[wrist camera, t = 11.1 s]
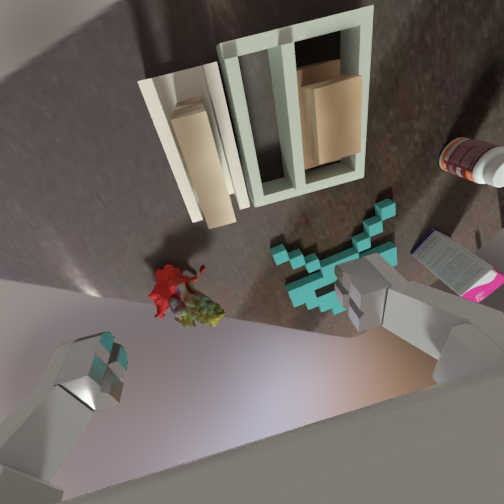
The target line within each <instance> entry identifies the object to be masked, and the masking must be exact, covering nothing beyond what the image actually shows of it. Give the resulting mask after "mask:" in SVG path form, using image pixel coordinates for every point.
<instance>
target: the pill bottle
mask: <svg viewBox="0 0 504 504" xmlns="http://www.w3.org/2000/svg"><path fill="white" fill-rule="evenodd" d="M439 165H440V167H441V168H442V169H443V170H445V171H448V172H450V173H453V174H455V175H458V176H460V177H463V178H465V179H468V180H470V181H473V182H475V183H478V184H486V183H487V184H489V185H492V186H494V187H504V147H502V146H498V145H494V144H489V143H486V142H482V141H478V140H474V139H470V138H465V137H460V138H457V139H455V140H453V141H451V142H450V143H449V144H448V145H447V146H446V147H445V148H444V150H443V151H442V153H441V155H440V159H439Z"/></svg>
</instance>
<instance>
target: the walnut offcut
mask: <svg viewBox="0 0 504 504" xmlns="http://www.w3.org/2000/svg"><path fill="white" fill-rule="evenodd" d="M296 72H297V84H298V97H299V109H300V121H301V133H302V146H303V158H304V170H305V169H309V168H312V167H316V166H319V165H323V164H327V163H330V162H334V161H337V160H341V158H339V159H336V160H333V161H329V162H326V163H323V164H318V163H317V162H316V161H314V160H313V159H312V158H310V157H309V156H308V153H307V143H306V134H305V124H304V114H303V104H302V94H301V87H303V86H307V85H310V84H313V83H317V82H320V81H323V80H327V79H330V78H334V77H337V76H340V59H337V60H324V61H320V62H316V63H313V64H309V65H305V66H301V67H298V68H296Z"/></svg>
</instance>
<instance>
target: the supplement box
mask: <svg viewBox="0 0 504 504" xmlns="http://www.w3.org/2000/svg"><path fill="white" fill-rule="evenodd" d="M411 254H412V255H413V256H414V257H415V258H416V259H417V260H419V261H420V262H421V263H422V264H423V265H424V266H425V267H427V268H428V269H429V270H430V271H431V272H432V273H434V274H435V275H436V276H437V277H438V278H439V279H441V280H442V281H443V282H444V283H445V284H446V285H447V286H449V287H450V288H451V289H452V290H453V291H455V292H456V293H457V294H458V295H459V296H461V297H464V298H467V299H469V300H472V301H475V302H477V303H479V302H480V301H482V300H483V299H484V298H485V297H487V296H488V295H489V294H490V293H491V292H492V291H494V290H495V289H496V288H498V287H499V286H500V285H501V284H503V283H504V274H503V273H501V272H499V271H498V270H497V269H495V268H493V267H492V266H491V265H489V264H488V263H486V262H485V261H483V260H482V259H481V258H479V257H478V256H476V255H475V254H473V253H472V252H470V251H469V250H467V249H466V248H464V247H463V246H462V245H460V244H459V243H457V242H456V241H454V240H453V239H451V238H450V237H448V236H447V235H445V234H443V233H441V232H439V231H437V230H435V229H432V230H431V231H430V232H429V233H428V234H427V235H426V236H425V237H424V239H423V240H422V241H421V242H420V243H419V244H418V245H417V246H416V247H415V248H414V249H413V250H412V252H411Z"/></svg>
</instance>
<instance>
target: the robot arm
mask: <svg viewBox="0 0 504 504" xmlns="http://www.w3.org/2000/svg"><path fill="white" fill-rule="evenodd" d="M334 274H335V275H336V277H337V280H336V281H335V292H336V295H337V298H338V300H339V302H340V304H341V305H342V307H343V308H345V309H347V310H349V318H350V319H351V321H352V322H353V324H354V326H355V327H356V329H357V330H358V332H359V331H363V330H366V329H370V328H374V327H377V326H381V325H383V327H384V328H386V329H388V330H389V331H391V332H392V333H394V334H396V335H397V336H399V337H401V338H402V339H404V340H406V341H407V342H409V343H411V344H412V345H414V346H416V347H418V348H419V349H421V350H422V351H424V352H426V353H427V354H429V355H431V356H432V357H434V358H436V359H437V360H438V363H437V365H436V367H435V370H434V372H433V376H432V377H433V379H434V380H435V381H436V382H437V385H434V386H431V387H427V388H424V389H421V390H418V391H414V392H411V393H408V394H405V395H402V396H398V397H395V398H392V399H389V400H385V401H382V402H379V403H376V404H373V405H369V406H366V407H363V408H360V409H357V410H354V411H350V412H347V413H344V414H341V415H337V416H334V417H331V418H328V419H324V420H321V421H318V422H315V423H312V424H309V425H305V426H302V427H299V428H295V429H293V430H289V431H286V432H283V433H279V434H276V435H273V436H270V437H267V438H264V439H260V440H257V441H254V442H250V443H247V444H244V445H241V446H238V447H235V448H231V449H228V450H225V451H222V452H218V453H215V454H212V455H209V456H206V457H202V458H199V459H196V460H193V461H189V462H186V463H183V464H180V465H177V466H173V467H170V468H167V469H164V470H160V471H158V472H154V473H151V474H148V475H144V476H141V477H138V478H135V479H132V480H128V481H126V482H122V483H119V484H116V485H112V486H109V487H106V488H103V489H100V490H96V491H93V492H90V493H87V494H84V495H80V496H77V497H74V498H71V499H68V500H64V501H61V499H62V496H63V492H64V491H63V490H62V488H61V487H59V486H56V485H54V484H51V483H49V482H50V480H51V479H52V477H53V476H54V474H55V473H56V471H57V470H58V468H59V466H60V465H61V464H62V462H63V460H64V459H65V457H66V456H67V454H68V453H69V451H70V450H71V448H72V447H73V445H74V444H75V442H76V440H77V439H78V437H79V436H80V434H81V433H82V431H83V430H84V428H85V427H86V425H87V423H88V422H89V420H90V419H91V417H92V416H93V414H94V411H97V410H100V409H103V408H106V407H109V406H112V405H115V404H118V403H120V398H121V393H122V388H123V382H122V380H121V379H120V378H121V377H122V375H123V374H124V373H125V372H126V369H127V364H128V361H127V354H126V352H125V350H124V348H123V346H122V345H120V344H117V343H114V336H113V335H112V334H111V333H110V332H102V333H99V334H94V335H91V336H87V337H83V338H79V339H76V340H73V341H69V342H65V343H62V344H61V345H59V346H58V347H57V349H56V351H55V353H54V355H53V357H52V359H51V361H50V363H49V365H48V368H47V369H46V372H45V374H44V376H43V378H42V380H41V382H40V384H39V386H38V388H37V390H36V392H33V393H31V394H29V396H28V397H27V398H26V399H25V400H24V401H23V402H22V403H21V404H20V405H19V406H18V407H17V408H16V409H15V410H14V411H13V412H12V413H11V414H10V415H9V416H8V417H7V418H6V419H5V420H4V421H3V422H2V423H1V424H0V504H504V313H502V312H501V311H498V310H495V309H492V308H490V307H486V306H484V305H481V304H478V303H475V302H472V301H469V300H466V299H464V298H461V297H458V296H455V295H452V294H449V293H446V292H443V291H440V290H437V289H435V288H432V287H429V286H426V285H423V284H420V283H417V282H415V281H411V282H408V281H407V280H406V279H405V278H404V277H403V276H402V275H401V274H400V273H399V272H398V271H396V270H395V269H394V268H393V267H392V266H391V265H390V264H389V263H388V262H387V261H386V260H385V259H384V258H383V257H382V256H381V255H380V254H378V253H374V254H371V255H368V256H364V257H362V258H358V259H354V260H351V261H348V262H344V263H341V264H338V265H335V268H334Z"/></svg>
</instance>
